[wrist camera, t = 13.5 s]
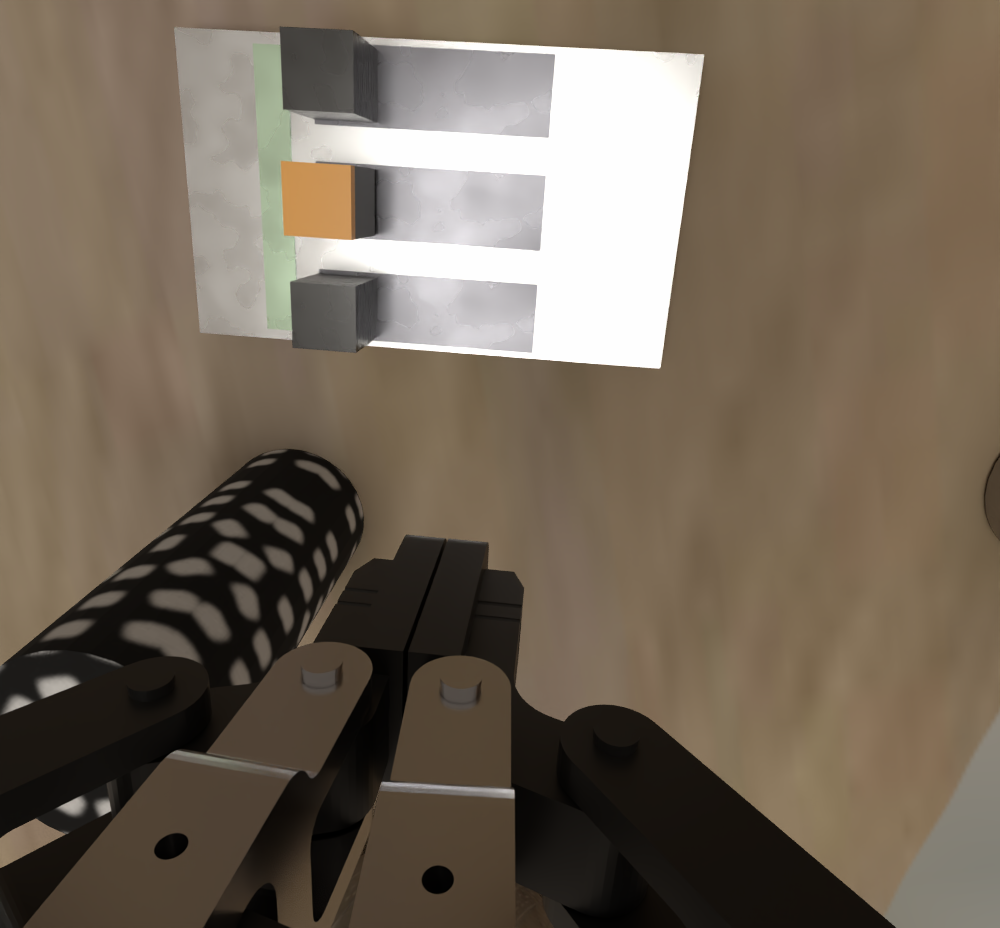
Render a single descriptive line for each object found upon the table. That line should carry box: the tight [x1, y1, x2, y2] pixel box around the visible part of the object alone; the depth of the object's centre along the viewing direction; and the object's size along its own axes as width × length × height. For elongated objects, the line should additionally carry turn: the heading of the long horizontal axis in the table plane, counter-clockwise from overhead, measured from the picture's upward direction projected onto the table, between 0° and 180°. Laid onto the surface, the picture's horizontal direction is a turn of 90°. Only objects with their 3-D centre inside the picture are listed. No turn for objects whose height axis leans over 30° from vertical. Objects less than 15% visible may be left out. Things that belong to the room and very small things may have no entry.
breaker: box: [281, 161, 375, 240], centre depth 33 cm, size 3×3×4 cm
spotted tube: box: [0, 449, 364, 834], centre depth 34 cm, size 8×8×20 cm
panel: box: [174, 27, 704, 369], centre depth 34 cm, size 24×14×6 cm, turn 87°
